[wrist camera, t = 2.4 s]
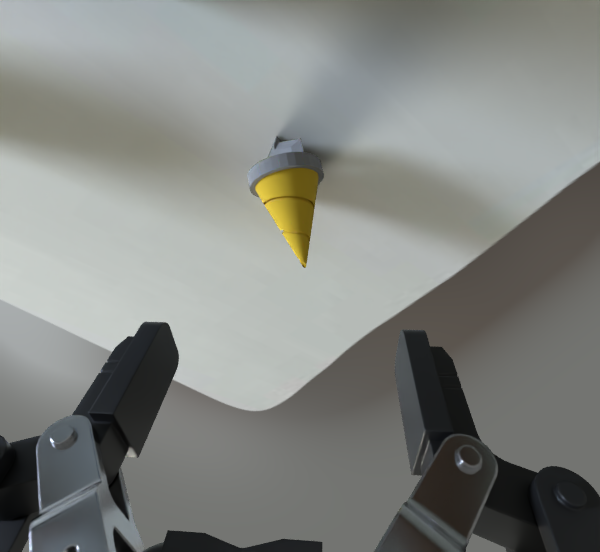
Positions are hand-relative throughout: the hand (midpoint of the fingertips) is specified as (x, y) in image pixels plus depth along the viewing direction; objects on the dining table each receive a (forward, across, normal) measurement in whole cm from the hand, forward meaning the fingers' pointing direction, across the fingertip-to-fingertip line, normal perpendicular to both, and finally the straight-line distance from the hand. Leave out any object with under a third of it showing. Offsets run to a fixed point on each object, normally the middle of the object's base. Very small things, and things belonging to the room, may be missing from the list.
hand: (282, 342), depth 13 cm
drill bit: (+19, +1, +1) cm, 19 cm away
